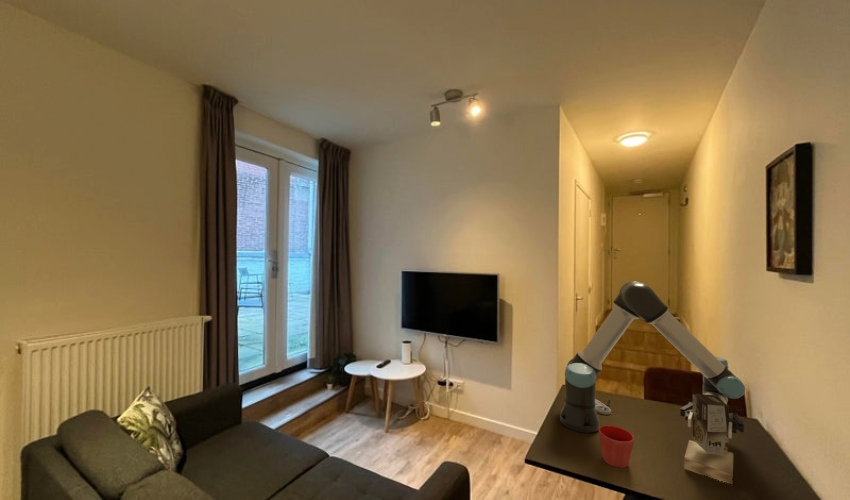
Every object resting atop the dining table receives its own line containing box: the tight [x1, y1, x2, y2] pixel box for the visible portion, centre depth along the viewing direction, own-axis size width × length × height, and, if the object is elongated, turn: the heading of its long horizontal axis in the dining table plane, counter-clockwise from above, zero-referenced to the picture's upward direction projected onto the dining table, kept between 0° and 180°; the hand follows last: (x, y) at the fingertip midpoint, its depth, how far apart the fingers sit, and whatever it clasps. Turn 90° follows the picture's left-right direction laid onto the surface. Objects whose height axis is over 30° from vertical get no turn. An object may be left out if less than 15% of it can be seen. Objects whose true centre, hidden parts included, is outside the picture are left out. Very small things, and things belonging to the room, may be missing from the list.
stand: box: [683, 439, 734, 485], centre depth 118 cm, size 12×14×4 cm
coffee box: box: [692, 393, 730, 456], centre depth 118 cm, size 9×6×16 cm
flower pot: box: [598, 425, 635, 469], centre depth 121 cm, size 11×11×10 cm
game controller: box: [595, 398, 612, 416], centre depth 162 cm, size 15×13×2 cm
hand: (709, 428), depth 114 cm, fingers closed on coffee box, 10 cm apart
